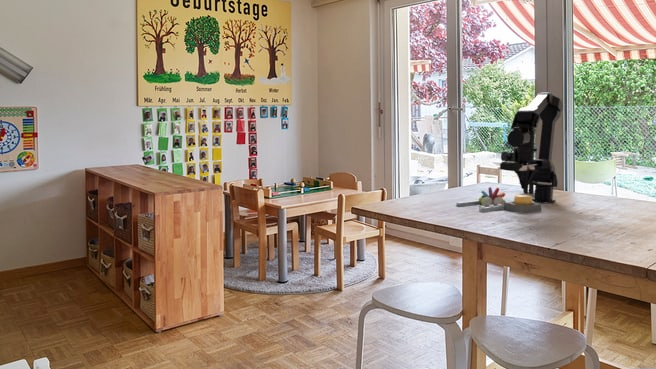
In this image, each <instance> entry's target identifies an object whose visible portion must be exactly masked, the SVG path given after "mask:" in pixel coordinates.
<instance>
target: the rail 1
mask: <svg viewBox="0 0 656 369" xmlns="http://www.w3.org/2000/svg"><path fill="white" fill-rule="evenodd" d="M476 205H482V203H481V202H479V199H477V200H469V201H460V202H456V206H457V207H464V206H465V207H467V206H476Z"/></svg>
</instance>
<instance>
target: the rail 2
mask: <svg viewBox="0 0 656 369" xmlns="http://www.w3.org/2000/svg"><path fill="white" fill-rule="evenodd" d="M499 210H505V209H504V205H502V204H497V206H494V205H493V204H492V205H489V207H485V206H483V205H481V206H480V207H479V208H478V212H481V213H483V212H485V213H486V212H491V211H499Z"/></svg>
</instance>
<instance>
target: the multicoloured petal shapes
mask: <svg viewBox="0 0 656 369" xmlns="http://www.w3.org/2000/svg"><path fill="white" fill-rule="evenodd" d="M499 192H500V188H499V187H496V188H495V190H494V191H493V189H492V187H491V186H489V187H488V193H486V192H485V190H482V191H481V194H482V195H481V196H480V197H479V198H478V200H479V202H481V203H482V204H481V206H485V207H489V205H493V206H497V204H502V205H504V202H507V201H506V200H505V199H503V198H504V197H505V196H506V193H505V192H502V193H499Z"/></svg>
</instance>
